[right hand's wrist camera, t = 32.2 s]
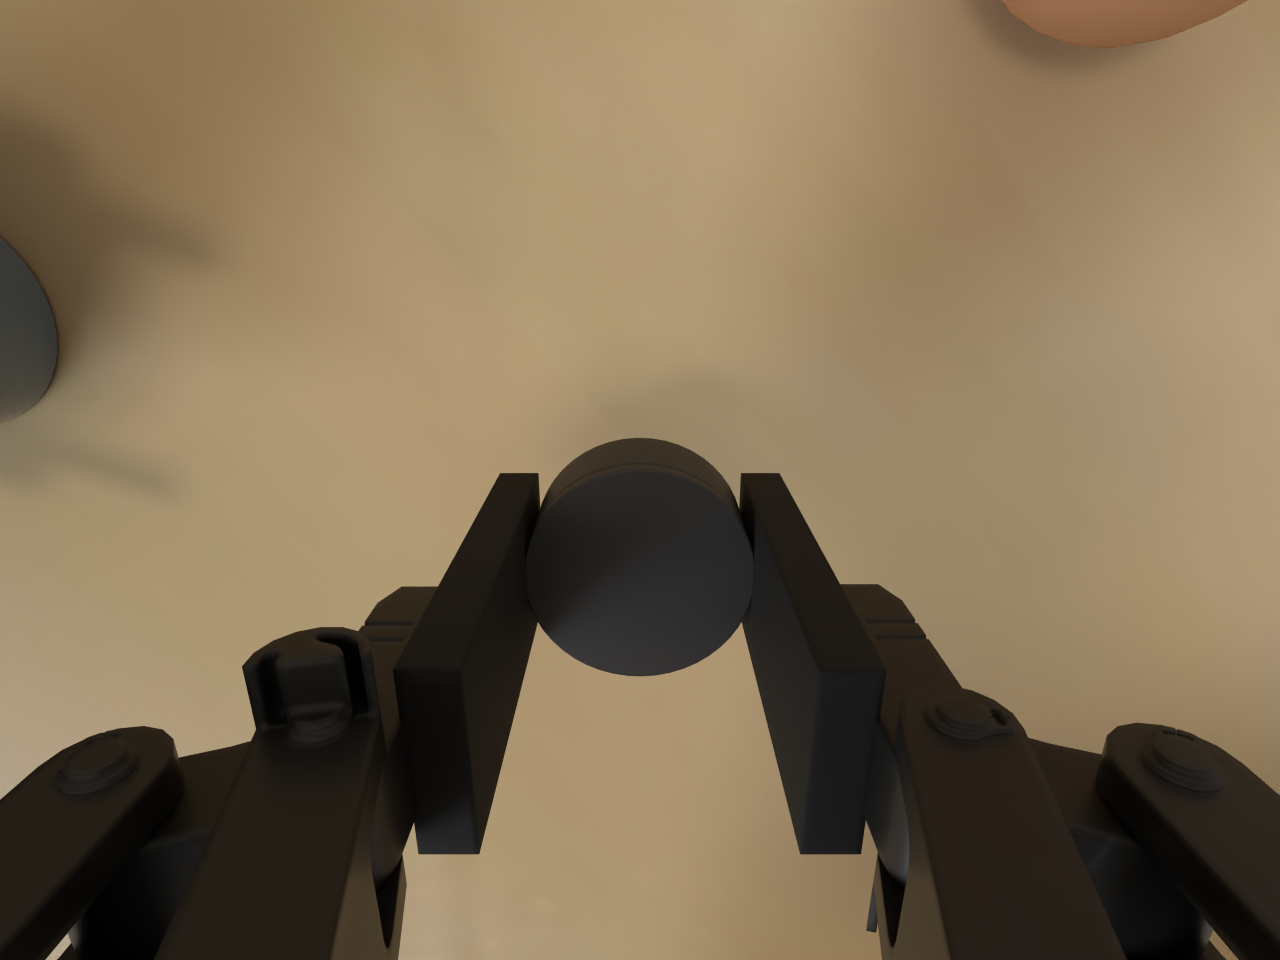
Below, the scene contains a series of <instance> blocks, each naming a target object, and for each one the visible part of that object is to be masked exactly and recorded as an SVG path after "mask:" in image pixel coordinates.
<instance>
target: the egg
mask: <svg viewBox="0 0 1280 960" xmlns="http://www.w3.org/2000/svg"><path fill="white" fill-rule="evenodd" d="M1002 1H1003V3H1004V4H1005V6H1006V7H1007V9H1008V10H1009V11H1010V13H1011V14H1013V15H1014V16H1015V17H1017V18H1018V19H1020V20H1021V21H1022V22H1024V23H1025V24H1026V25H1028V26H1029V27H1030V28H1032V29H1033V30H1035V31H1036V32H1038V33H1041V34H1044V35H1047V36H1049V37H1052V38H1055V39H1057V40H1060V41H1063V42H1066V43H1069V44H1073V45H1076V46H1089V47H1104V48H1109V47H1115V46H1122V45H1129V44H1135V43H1142V42H1148V41H1153V40H1157V39H1162V38H1166V37H1169V36H1172V35H1174V34H1177V33H1179V32H1182V31H1184V30H1187V29H1189V28H1191V27H1194V26H1196V25H1199V24H1201V23H1204V22H1206V21H1209V20H1211V19H1214V18H1216V17H1218V16H1220V15H1222V14H1224V13H1226V12H1227V11H1229V10H1231V9H1233V8H1234V7H1236V6H1238V5H1240V4H1242V3H1243V2H1245V1H1247V0H1002Z"/></svg>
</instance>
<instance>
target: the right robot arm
mask: <svg viewBox="0 0 1280 960" xmlns="http://www.w3.org/2000/svg"><path fill="white" fill-rule="evenodd" d="M739 510H740V513H741V516H742V519H743V522H744V525H745V528H746V531H747V534H748V537H749V540H750V542H751V545H752V548H753V553H754V570H753V586H752V599H751V603H750V605H749V608H748V610H747V612H746V615H745V617H744V618H743V620H742V625H743V629H744V633H745V637H746V641H747V645H748V649H749V653H750V657H751V661H752V665H753V669H754V673H755V677H756V680H757V684H758V688H759V692H760V696H761V700H762V704H763V708H764V712H765V716H766V720H767V724H768V728H769V732H770V736H771V740H772V744H773V748H774V752H775V756H776V760H777V764H778V768H779V772H780V776H781V780H782V784H783V788H784V792H785V796H786V799H787V803H788V807H789V811H790V815H791V819H792V823H793V827H794V831H795V835H796V839H797V843H798V847H799V851H800V854H861V849H862V842H863V835H864V828H865V821H867V824H868V826H869V829H870V832H871V834H872V837H873V840H874V842H875V845H876V848H877V850H878V855H877V862H876V869H875V875H874V882H873V888H872V895H871V902H870V908H869V915H868V922H867V930H866V931H870V932H876V929H877V924H878V928H879V936H880V945H881V954H882V960H1226V959H1225V958H1224V957H1223V956H1222V955H1221V954H1220V953H1219V951H1218V950H1217V949H1216V948H1215V946H1214V945H1213V944H1212V943H1211V942H1210V940H1209V939H1210V936H1211V933H1212V931H1213V930H1214V931H1215V932H1216V933H1217V934H1218V936H1219V937H1220V938H1221V939H1222V940H1223V942H1224V943H1225V944H1226V945H1227V946H1228V947H1229V949H1230V950H1231V951H1232V952H1233V953H1234V955H1235V956H1236V957H1237V958H1238V959H1239V960H1280V795H1278V794H1277V793H1276V792H1275V791H1274V790H1273V789H1272V788H1270V787H1269V786H1268V785H1267V784H1266V783H1265V782H1263V781H1262V780H1261V779H1260V778H1259V777H1258V776H1256V775H1255V774H1254V773H1253V772H1252V771H1251V770H1250V769H1248V768H1247V767H1246V766H1245V765H1244V764H1243V763H1241V762H1240V761H1238V760H1237V759H1235V758H1234V757H1233V756H1231V755H1230V754H1228V753H1227V752H1225V751H1224V750H1222V749H1221V748H1220V747H1218V746H1216V745H1214V744H1212V743H1209V742H1207V741H1205V740H1203V739H1201V738H1199V737H1197V736H1195V735H1193V734H1191V733H1188V732H1185V731H1182V730H1179V729H1178V730H1176V729H1175V728H1171V727H1167V726H1163V725H1154V724H1144V723H1133V724H1127V725H1122V726H1117V727H1116V728H1115V729H1114V730H1113V731H1112V732H1111V733H1109V734H1108V735H1107V738H1106V741H1105V745H1104V749H1103V752H1102V755H1101V754H1096V753H1092V752H1087V751H1082V750H1077V749H1073V748H1068V747H1063V746H1058V745H1054V744H1049V743H1045V742H1042V741H1038V740H1034V739H1031V738H1028V737H1027V734H1026V732H1025V730H1024V728H1023V727H1022V725H1021V724H1020V723H1019V721H1018V720H1017V719H1016V717H1015V716H1014V715H1013V713H1011V712H1010V711H1009V710H1007V709H1006V708H1004V707H1003V706H1002V705H1000V704H999V703H998V702H996V701H995V700H993V699H990V698H988V697H986V696H984V695H981V694H979V693H977V692H974V691H972V690H967V689H963V688H962V687H961V686H960V684H959V683H958V681H957V680H956V678H955V677H954V675H953V674H952V672H951V671H950V670H949V668H948V667H947V665H946V664H945V662H944V661H943V659H942V658H941V656H940V655H939V654H938V652H937V651H936V649H935V648H934V646H933V645H932V643H931V642H930V640H929V639H926V635H925V633H924V632H923V630H922V629H921V627H920V626H919V624H918V623H915V619H914V617H913V616H912V614H911V613H910V611H909V610H908V608H907V607H906V605H905V604H904V603H903V601H902V600H901V599H899V598H898V597H896V596H895V595H893V594H892V593H890V592H889V591H887V590H886V589H884V588H883V587H881V586H880V585H878V584H840V583H839V581H838V580H837V578H836V576H835V574H834V572H833V570H832V569H831V567H830V565H829V563H828V561H827V560H826V558H825V556H824V554H823V552H822V550H821V549H820V547H819V545H818V543H817V541H816V539H815V538H814V536H813V534H812V532H811V530H810V528H809V527H808V525H807V523H806V521H805V519H804V517H803V516H802V514H801V512H800V510H799V508H798V507H797V505H796V503H795V501H794V499H793V497H792V496H791V494H790V492H789V490H788V488H787V486H786V485H785V483H784V481H783V479H782V477H781V475H780V474H779V473H741V486H740V505H739ZM539 511H540V495H539V476H538V473H500V475H499V476H498V478H497V480H496V482H495V484H494V486H493V487H492V489H491V491H490V493H489V495H488V497H487V498H486V500H485V502H484V504H483V506H482V507H481V509H480V511H479V513H478V515H477V517H476V518H475V520H474V522H473V524H472V526H471V528H470V529H469V531H468V533H467V535H466V537H465V538H464V540H463V542H462V544H461V546H460V548H459V549H458V551H457V553H456V555H455V557H454V559H453V560H452V562H451V564H450V566H449V568H448V570H447V571H446V573H445V575H444V577H443V579H442V580H441V582H440V584H439V586H438V587H400V588H399V589H398V590H396V591H395V592H393V593H392V594H390V595H389V596H387V597H386V598H384V599H383V600H381V601H380V602H378V603H377V605H376V606H375V608H374V609H373V611H372V612H371V614H370V615H369V616H368V618H367V619H366V621H365V626H362V627H361V628H360V630H359V631H355V630H351V629H347V628H344V627H319V628H314V629H309V630H304V631H299V632H295V633H292V634H290V635H287V636H284V637H282V638H279V639H276V640H274V641H272V642H270V643H269V644H267V645H266V646H264V647H262V648H261V649H259V650H258V651H256V652H254V653H253V655H252V656H251V657H250V658H249V659H248V660H247V661H246V662H245V664H244V665H243V666H242V668H243V673H244V677H245V682H246V686H247V691H248V695H249V699H250V704H251V708H252V713H253V717H254V721H255V726H256V731H255V733H254V736H253V738H252V740H251V741H249V742H246V743H242V744H239V745H235V746H231V747H227V748H222V749H217V750H213V751H208V752H203V753H199V754H194V755H189V756H184V757H180V758H178V754H177V751H176V747H175V744H174V740H173V738H172V737H171V736H169V735H168V734H167V733H166V732H165V731H164V730H162V729H157V728H151V727H146V726H139V727H129V728H119V729H115V730H111V731H106V732H105V733H99V734H96V735H93V736H90V737H88V738H86V739H84V740H82V741H80V742H78V743H76V744H74V745H72V746H70V747H68V748H65V749H63V750H62V751H60V752H59V753H57V754H56V755H54V756H53V757H52V758H50V759H49V760H47V761H46V762H44V763H43V764H42V765H40V766H39V767H37V768H36V769H35V770H34V771H33V772H32V773H31V774H29V775H28V776H27V777H26V778H25V779H24V780H22V781H21V782H20V783H19V784H18V785H17V786H16V787H14V788H13V789H12V790H11V791H10V792H9V793H8V794H6V795H5V796H4V797H3V798H2V799H1V800H0V960H45V959H46V958H47V957H48V956H49V955H50V953H51V952H52V951H53V950H54V949H55V947H56V946H57V945H58V944H59V943H60V941H61V940H62V939H63V938H64V937H65V936H66V934H67V933H68V935H69V938H70V940H71V944H70V945H69V946H68V948H67V949H66V950H65V951H64V953H63V954H62V955H61V956H60V957H59V958H58V959H57V960H398V955H399V947H400V938H401V929H402V921H403V912H404V903H405V894H406V886H407V884H406V876H405V869H404V862H403V855H402V853H403V850H404V847H405V845H406V842H407V839H408V837H409V834H410V831H411V829H412V826H413V823H414V824H415V832H416V839H417V846H418V853H419V854H479V853H480V849H481V845H482V841H483V837H484V833H485V829H486V825H487V821H488V817H489V813H490V809H491V806H492V802H493V798H494V794H495V790H496V786H497V782H498V778H499V774H500V770H501V766H502V762H503V758H504V754H505V750H506V746H507V742H508V738H509V734H510V730H511V726H512V722H513V718H514V714H515V710H516V706H517V702H518V698H519V695H520V691H521V687H522V683H523V679H524V675H525V671H526V667H527V663H528V659H529V655H530V651H531V647H532V643H533V639H534V635H535V631H536V627H537V623H538V621H537V620H536V618H535V616H534V614H533V611H532V609H531V607H530V604H529V601H528V594H527V578H526V560H525V554H526V550H527V547H528V543H529V540H530V537H531V534H532V531H533V528H534V525H535V522H536V520H537V517H538V514H539Z"/></svg>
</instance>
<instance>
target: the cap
mask: <svg viewBox="0 0 1280 960" xmlns="http://www.w3.org/2000/svg"><path fill="white" fill-rule="evenodd" d="M525 560H526V578H527V594H528V601H529V604H530V607H531V609H532V611H533V614H534V616H535V618H536V620H537V621H538V623H539V624H540V626H541V627H542V629H543V630H544V632H545V633H546V634H547V635H548V636H549V637H550V639H551V640H552V641H553V642H554V643H555V644H556V645H558V646H559V647H560V648H561V649H562V650H563V651H565V652H566V653H568V654H569V655H570V656H572V657H573V658H575V659H577V660H579V661H580V662H582V663H584V664H586V665H588V666H591V667H594V668H596V669H599V670H602V671H606V672H609V673H613V674H619V675H626V676H653V675H660V674H666V673H671V672H674V671H677V670H680V669H684V668H686V667H688V666H691V665H693V664H695V663H697V662H699V661H701V660H702V659H704V658H706V657H708V656H709V655H711V654H712V653H713V652H715V651H716V650H717V649H718V648H720V647H721V646H722V645H723V644H724V643H725V642H726V641H727V640H728V639H729V638H730V637H731V636H732V634H733V633H734V632H735V631H736V629H737V628H738V627H739V625H740V623H741V622H742V620H743V618H744V617H745V615H746V612H747V610H748V608H749V605H750V603H751V599H752V586H753V570H754V553H753V548H752V545H751V542H750V540H749V537H748V534H747V531H746V528H745V525H744V522H743V519H742V516H741V513H740V510H739V507H738V505H737V502H736V499H735V496H734V494H733V492H732V491H731V489H730V487H729V485H728V484H727V482H726V481H725V479H724V478H723V477H722V475H721V474H720V473H719V472H718V471H717V470H716V469H715V468H714V467H713V466H712V465H711V464H710V463H709V462H707V461H706V460H705V459H704V458H702V457H701V456H699V455H697V454H696V453H694V452H693V451H691V450H689V449H687V448H684V447H682V446H680V445H677V444H674V443H671V442H667V441H663V440H657V439H651V438H631V439H622V440H617V441H612V442H608V443H605V444H603V445H600V446H597V447H595V448H593V449H591V450H589V451H587V452H585V453H583V454H582V455H580V456H579V457H577V458H576V459H574V460H573V461H572V462H571V463H570V464H569V465H567V466H566V467H565V468H564V469H563V470H562V471H561V472H560V474H559V475H558V476H557V477H556V478H555V480H554V481H553V483H552V484H551V486H550V488H549V489H548V491H547V493H546V495H545V498H544V500H543V502H542V505H541V508H540V511H539V514H538V517H537V520H536V522H535V525H534V528H533V531H532V534H531V537H530V540H529V543H528V547H527V550H526V554H525Z"/></svg>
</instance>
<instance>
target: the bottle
mask: <svg viewBox="0 0 1280 960" xmlns="http://www.w3.org/2000/svg"><path fill="white" fill-rule="evenodd" d="M57 351H58V347H57V332H56V327H55V321H54V318H53V314H52V311H51V308H50V305H49V303H48V300H47V298H46V296H45V293H44V291H43V289H42V288H41V286H40V284H39V282H38V280H37V279H36V277H35V276H34V274H33V273H32V271H31V270H30V268H29V267H28V266H27V264H26V263H25V262H24V261H23V259H22V258H21V257H20V256H19V255H18V254H17V253H16V251H15V250H14V249H13V248H12V247H11V246H10V245H9V244H7V243H6V242H5V241H4V240H3V239H2V238H1V237H0V423H3V422H6V421H9V420H12V419H14V418H15V417H17V416H19V415H21V414H23V413H24V412H26V411H27V410H28V409H30V408H31V407H32V406H33V405H34V404H35V403H36V402H37V401H38V400H39V399H40V398H41V396H42V395H43V393H44V392H45V390H46V389H47V387H48V386H49V383H50V381H51V379H52V377H53V373H54V370H55V366H56V360H57Z"/></svg>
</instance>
